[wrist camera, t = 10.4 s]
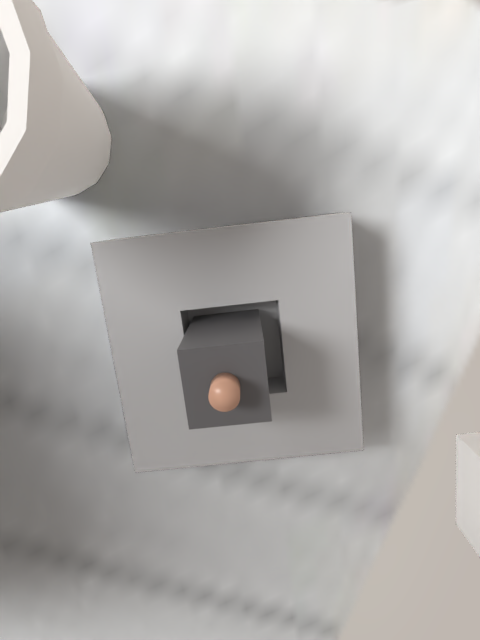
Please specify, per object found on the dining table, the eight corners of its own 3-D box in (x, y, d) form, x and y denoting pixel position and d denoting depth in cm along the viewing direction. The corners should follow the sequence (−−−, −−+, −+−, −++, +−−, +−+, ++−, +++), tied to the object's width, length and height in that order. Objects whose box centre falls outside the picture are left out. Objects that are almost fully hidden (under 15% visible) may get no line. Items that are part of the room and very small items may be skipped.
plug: (202, 376, 27) (185, 442, 19) (194, 315, 26) (172, 358, 18) (264, 370, 27) (273, 433, 19) (258, 308, 26) (265, 349, 18)
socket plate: (147, 443, 30) (135, 472, 26) (110, 239, 26) (90, 243, 23) (349, 422, 29) (363, 450, 26) (337, 213, 26) (351, 212, 22)
